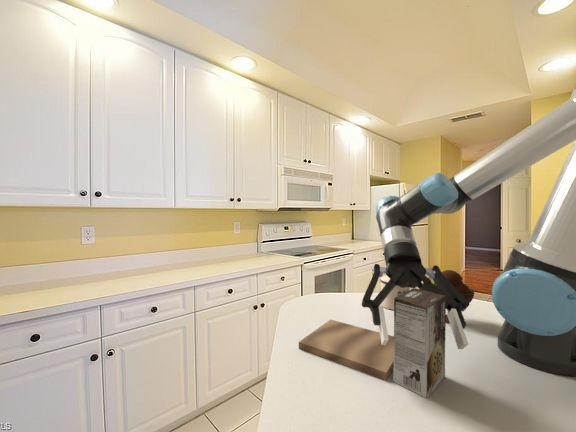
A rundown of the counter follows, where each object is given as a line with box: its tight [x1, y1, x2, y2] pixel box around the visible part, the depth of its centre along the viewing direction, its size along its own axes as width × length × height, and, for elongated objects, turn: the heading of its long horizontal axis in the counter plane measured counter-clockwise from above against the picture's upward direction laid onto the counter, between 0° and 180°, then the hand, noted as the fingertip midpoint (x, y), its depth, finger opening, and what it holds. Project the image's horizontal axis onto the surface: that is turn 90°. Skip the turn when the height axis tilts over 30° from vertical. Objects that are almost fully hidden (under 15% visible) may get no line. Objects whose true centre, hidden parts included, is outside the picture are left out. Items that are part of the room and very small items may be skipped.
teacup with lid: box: [379, 275, 411, 311], centre depth 92 cm, size 12×9×12 cm
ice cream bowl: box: [433, 269, 475, 325], centre depth 79 cm, size 11×11×15 cm
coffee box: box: [392, 288, 447, 399], centre depth 52 cm, size 9×6×16 cm
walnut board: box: [298, 319, 394, 381], centre depth 64 cm, size 20×16×2 cm
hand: (423, 344), depth 50 cm, fingers open, 13 cm apart
